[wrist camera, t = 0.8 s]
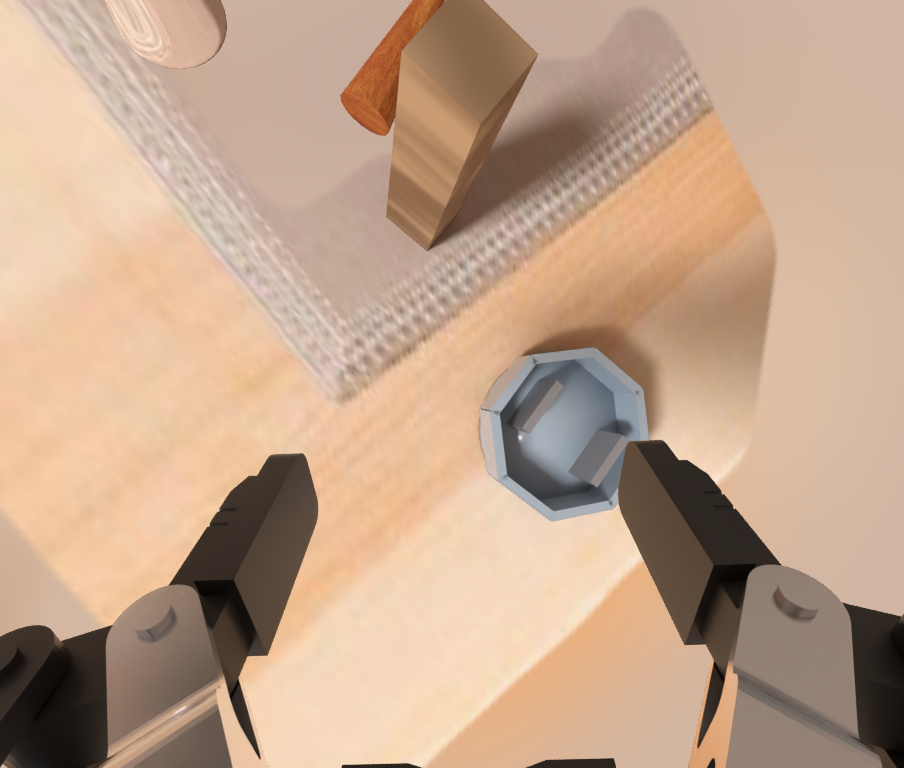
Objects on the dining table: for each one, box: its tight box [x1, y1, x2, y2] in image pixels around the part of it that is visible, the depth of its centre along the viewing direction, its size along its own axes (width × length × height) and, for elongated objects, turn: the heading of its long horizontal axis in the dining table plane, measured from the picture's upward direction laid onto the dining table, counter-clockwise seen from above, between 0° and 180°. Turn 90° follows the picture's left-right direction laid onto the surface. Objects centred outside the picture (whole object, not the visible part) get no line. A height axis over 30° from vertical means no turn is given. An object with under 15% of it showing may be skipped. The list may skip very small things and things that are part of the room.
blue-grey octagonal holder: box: [479, 347, 649, 521], centre depth 28 cm, size 10×10×4 cm
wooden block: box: [386, 0, 538, 251], centre depth 21 cm, size 3×3×14 cm
